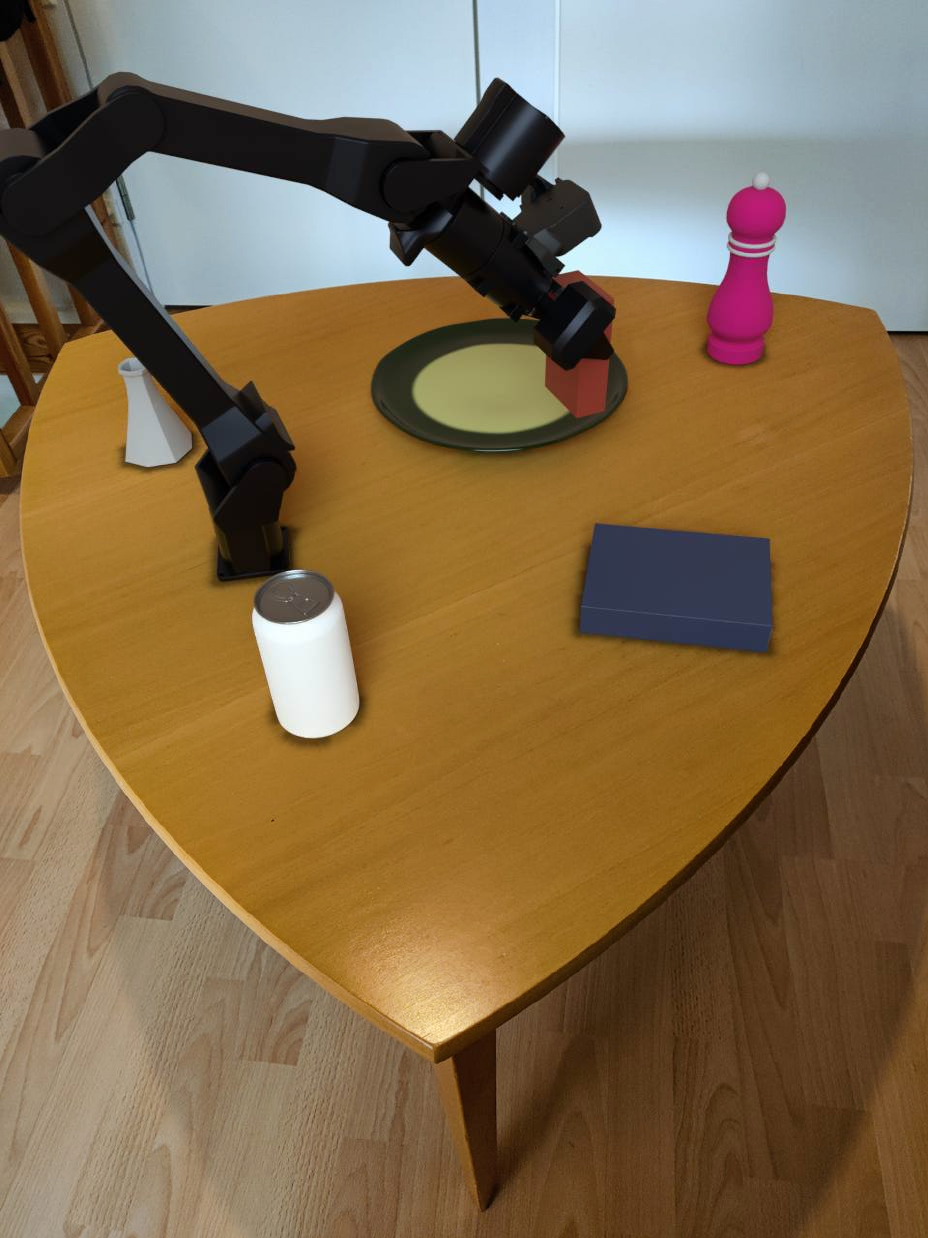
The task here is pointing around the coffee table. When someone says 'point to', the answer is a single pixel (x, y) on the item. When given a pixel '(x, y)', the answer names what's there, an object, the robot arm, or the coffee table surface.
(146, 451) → the flask
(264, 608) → the can
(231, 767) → the coffee table surface
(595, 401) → the red rectangular block
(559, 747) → the coffee table surface
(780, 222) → the pepper mill
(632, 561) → the navy hardcover
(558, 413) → the plate
